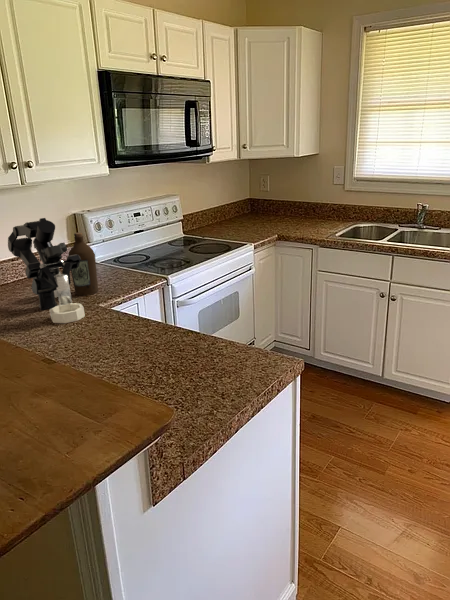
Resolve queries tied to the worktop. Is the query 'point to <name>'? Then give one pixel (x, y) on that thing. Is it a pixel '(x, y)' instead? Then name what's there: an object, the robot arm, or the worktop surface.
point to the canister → (63, 289)
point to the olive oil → (84, 268)
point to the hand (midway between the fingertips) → (63, 285)
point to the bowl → (67, 313)
